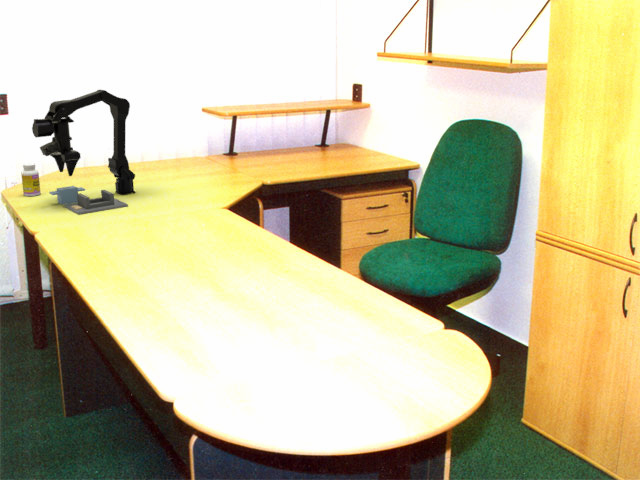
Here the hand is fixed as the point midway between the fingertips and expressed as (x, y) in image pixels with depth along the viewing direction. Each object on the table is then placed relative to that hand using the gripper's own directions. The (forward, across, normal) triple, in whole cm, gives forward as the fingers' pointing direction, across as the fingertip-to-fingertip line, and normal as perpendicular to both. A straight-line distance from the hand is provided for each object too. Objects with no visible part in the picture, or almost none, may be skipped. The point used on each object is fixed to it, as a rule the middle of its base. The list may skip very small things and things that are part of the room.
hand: (65, 173), depth 283 cm
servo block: (+12, 0, 0) cm, 12 cm away
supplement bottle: (+12, -21, -7) cm, 25 cm away
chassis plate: (+12, +13, +6) cm, 18 cm away
